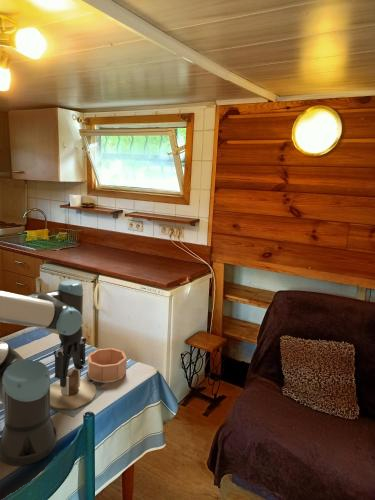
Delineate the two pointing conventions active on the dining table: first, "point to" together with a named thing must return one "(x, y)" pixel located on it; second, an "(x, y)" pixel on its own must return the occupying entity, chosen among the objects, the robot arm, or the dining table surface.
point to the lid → (72, 393)
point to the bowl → (106, 365)
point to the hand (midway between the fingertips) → (70, 389)
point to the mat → (75, 411)
